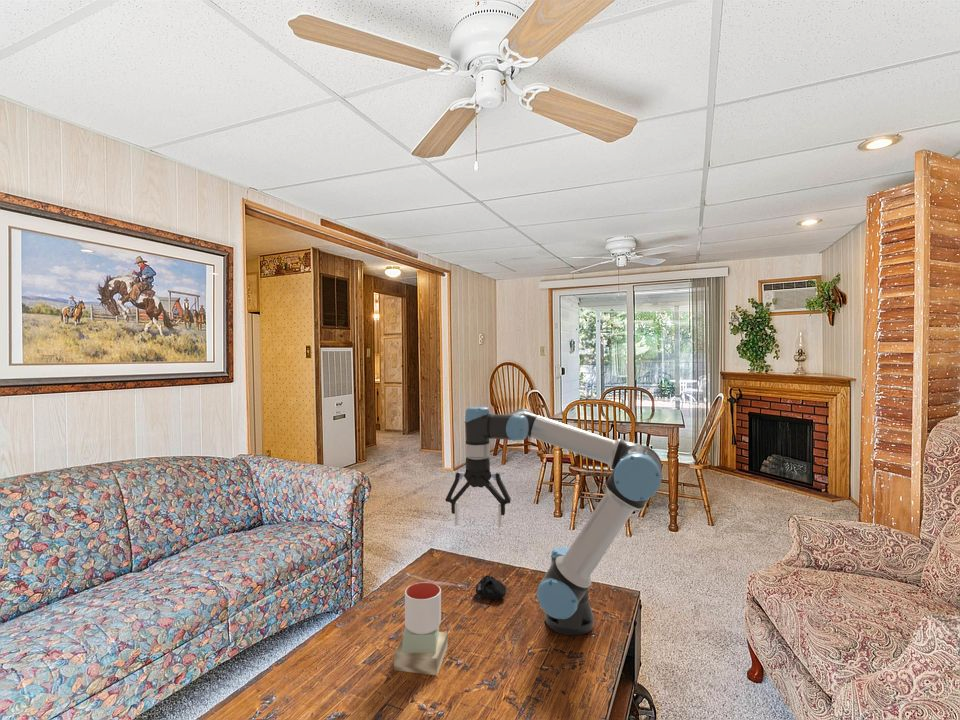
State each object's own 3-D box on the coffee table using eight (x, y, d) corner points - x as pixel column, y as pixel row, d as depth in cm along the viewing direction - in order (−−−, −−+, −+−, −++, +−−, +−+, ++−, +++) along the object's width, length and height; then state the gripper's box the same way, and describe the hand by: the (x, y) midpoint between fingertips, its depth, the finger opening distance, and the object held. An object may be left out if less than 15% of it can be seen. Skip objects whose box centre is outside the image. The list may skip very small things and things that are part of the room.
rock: (488, 608, 173) (512, 600, 170) (474, 603, 167) (499, 595, 164) (484, 581, 180) (508, 573, 177) (471, 575, 173) (495, 567, 170)
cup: (435, 638, 129) (436, 601, 129) (400, 634, 131) (400, 598, 131) (444, 617, 139) (444, 583, 139) (411, 614, 141) (411, 580, 141)
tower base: (447, 649, 141) (447, 632, 141) (436, 677, 129) (436, 658, 129) (407, 645, 143) (407, 628, 143) (393, 671, 131) (393, 653, 131)
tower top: (438, 633, 140) (438, 616, 140) (435, 653, 131) (435, 634, 131) (407, 633, 140) (407, 616, 140) (402, 652, 131) (402, 634, 131)
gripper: (518, 454, 153) (519, 521, 153) (440, 453, 156) (441, 519, 156) (517, 460, 145) (517, 530, 145) (435, 458, 148) (436, 527, 149)
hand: (478, 524), depth 151 cm, fingers open, 13 cm apart
